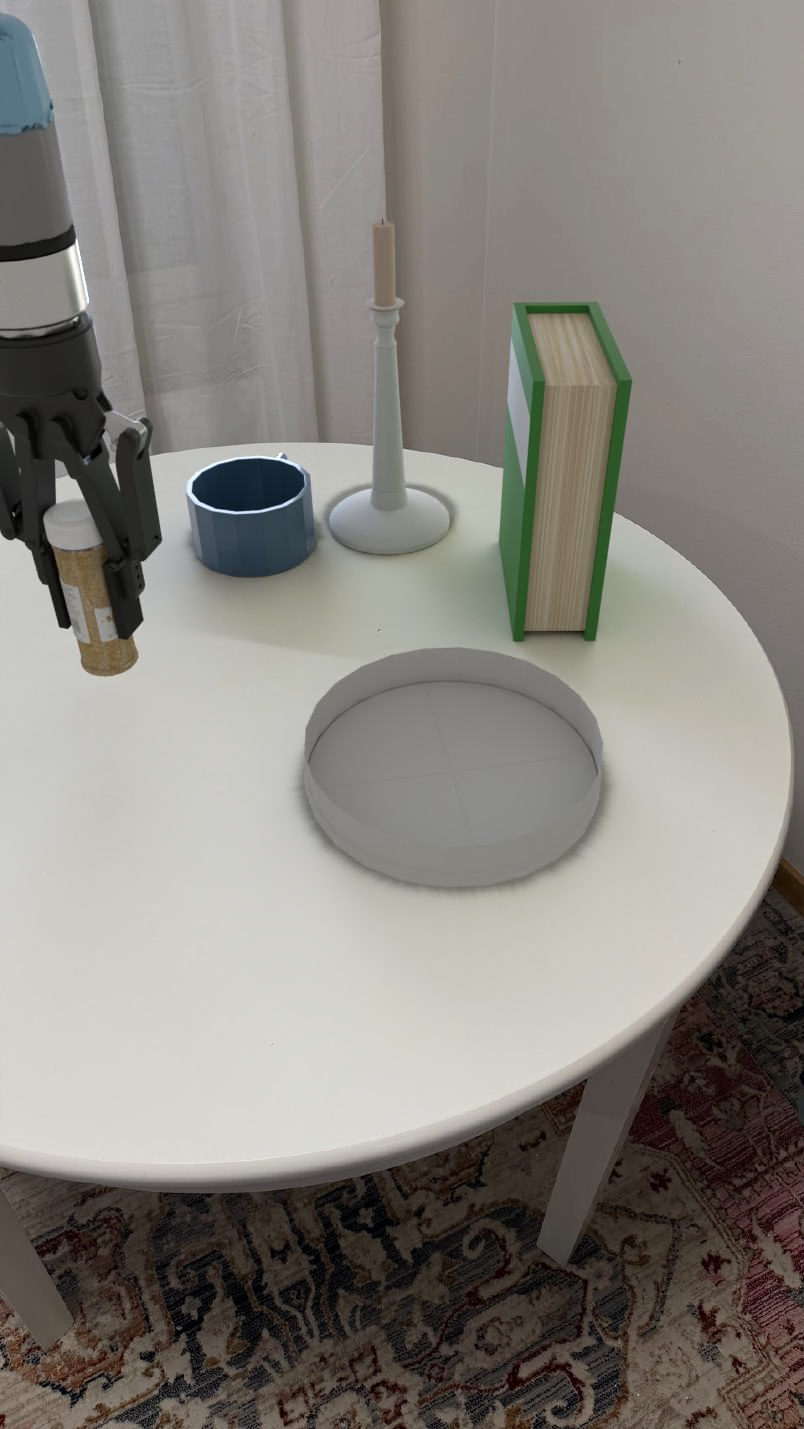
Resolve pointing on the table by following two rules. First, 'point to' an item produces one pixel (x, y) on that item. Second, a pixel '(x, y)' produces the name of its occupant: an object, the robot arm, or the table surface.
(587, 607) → the hardback book
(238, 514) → the blue pot
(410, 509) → the candlestick
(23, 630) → the table surface
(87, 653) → the sprinkles bottle
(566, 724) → the dish
